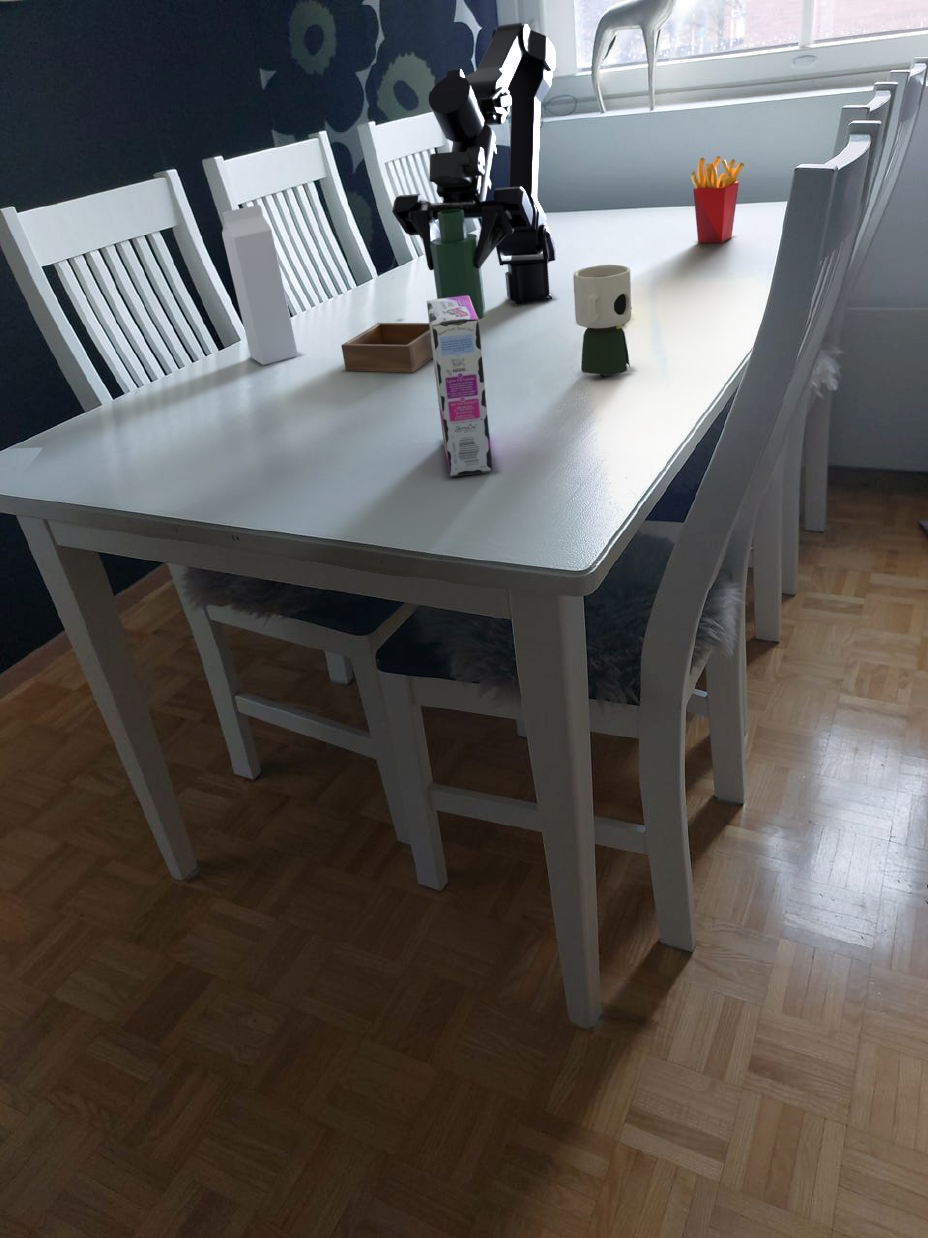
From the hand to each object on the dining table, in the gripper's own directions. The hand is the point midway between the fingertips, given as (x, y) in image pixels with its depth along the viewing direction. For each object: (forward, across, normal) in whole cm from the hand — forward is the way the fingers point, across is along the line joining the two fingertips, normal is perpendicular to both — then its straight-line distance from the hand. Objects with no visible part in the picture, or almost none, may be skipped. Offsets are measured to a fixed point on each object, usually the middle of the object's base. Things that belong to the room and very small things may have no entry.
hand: (453, 267), depth 128 cm
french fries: (-42, +26, +62) cm, 79 cm away
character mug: (+12, +21, +6) cm, 26 cm away
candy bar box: (+32, +12, -14) cm, 37 cm away
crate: (+8, -12, +11) cm, 18 cm away
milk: (+7, -34, +12) cm, 36 cm away
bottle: (+4, 0, +6) cm, 7 cm away
